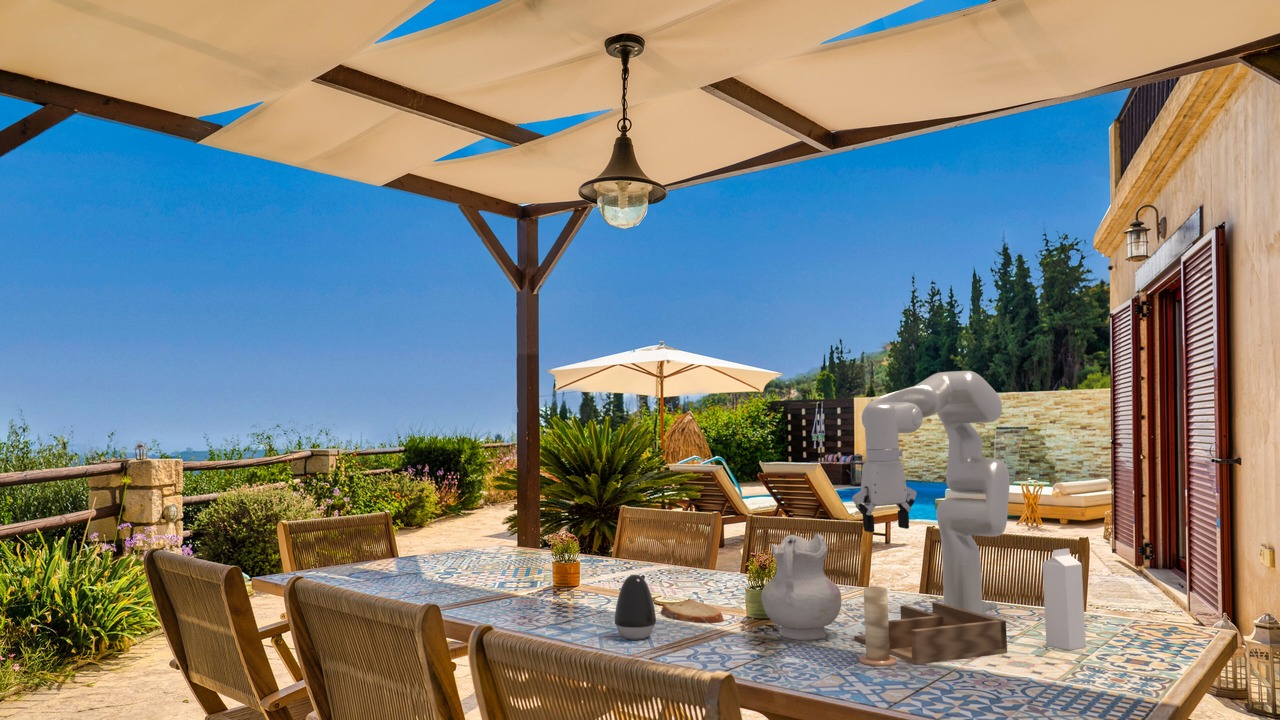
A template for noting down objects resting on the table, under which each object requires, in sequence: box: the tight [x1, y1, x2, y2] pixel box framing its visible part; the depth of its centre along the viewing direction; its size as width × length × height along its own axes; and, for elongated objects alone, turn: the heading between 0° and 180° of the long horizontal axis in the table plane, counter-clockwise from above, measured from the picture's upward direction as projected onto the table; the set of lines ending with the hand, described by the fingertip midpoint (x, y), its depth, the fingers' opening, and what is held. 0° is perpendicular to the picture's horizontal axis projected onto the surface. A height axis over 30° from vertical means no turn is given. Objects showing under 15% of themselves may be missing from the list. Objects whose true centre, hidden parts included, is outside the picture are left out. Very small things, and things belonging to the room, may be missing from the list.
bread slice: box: [660, 598, 725, 624], centre depth 243 cm, size 18×18×4 cm
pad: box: [858, 653, 898, 667], centre depth 193 cm, size 8×8×1 cm
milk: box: [1042, 547, 1087, 651], centre depth 205 cm, size 6×6×22 cm
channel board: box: [853, 601, 1008, 665], centre depth 206 cm, size 24×24×7 cm
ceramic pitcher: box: [760, 532, 842, 641], centre depth 218 cm, size 22×20×25 cm
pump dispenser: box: [614, 574, 657, 641], centre depth 219 cm, size 10×10×15 cm
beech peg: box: [863, 585, 891, 661], centre depth 194 cm, size 5×5×15 cm
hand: (886, 529), depth 208 cm, fingers open, 9 cm apart
